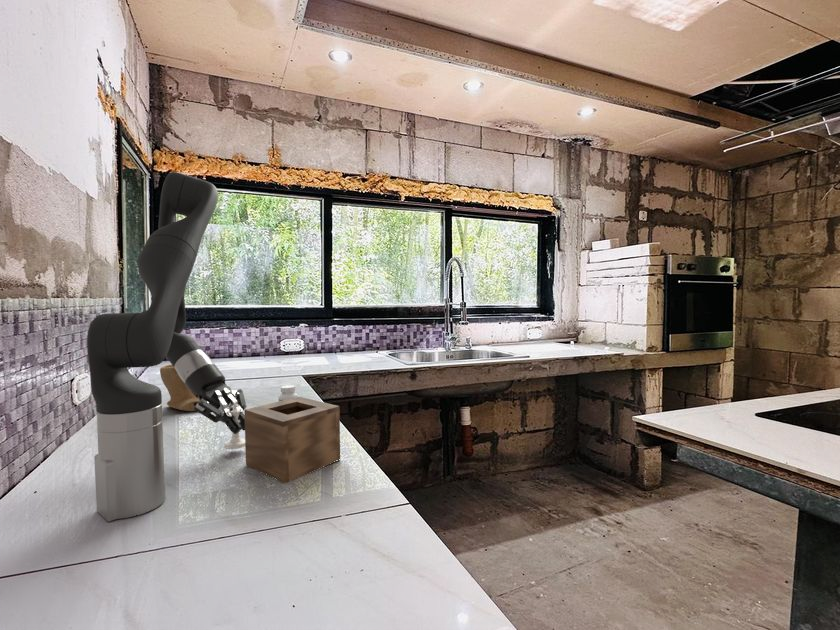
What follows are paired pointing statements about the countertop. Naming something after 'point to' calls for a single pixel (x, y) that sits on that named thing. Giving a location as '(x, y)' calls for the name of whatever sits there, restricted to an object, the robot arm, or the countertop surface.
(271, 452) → the walnut box
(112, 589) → the countertop surface
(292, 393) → the supplement bottle
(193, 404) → the tan fabric boot shape
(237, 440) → the chess piece
